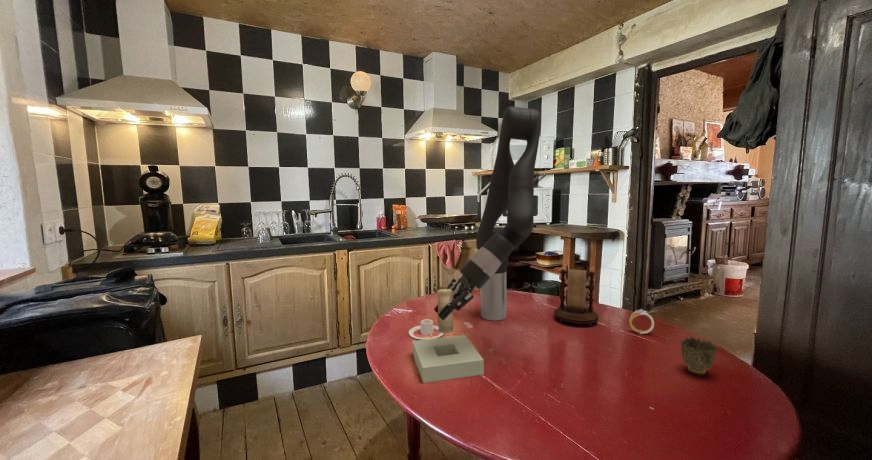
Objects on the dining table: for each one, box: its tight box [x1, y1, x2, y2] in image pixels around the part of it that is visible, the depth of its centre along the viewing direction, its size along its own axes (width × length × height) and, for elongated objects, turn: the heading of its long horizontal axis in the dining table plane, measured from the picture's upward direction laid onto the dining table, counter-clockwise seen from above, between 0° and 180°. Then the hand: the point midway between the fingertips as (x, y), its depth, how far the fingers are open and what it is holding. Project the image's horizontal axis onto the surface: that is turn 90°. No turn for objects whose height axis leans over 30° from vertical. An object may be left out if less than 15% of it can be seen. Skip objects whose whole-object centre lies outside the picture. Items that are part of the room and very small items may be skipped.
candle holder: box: [408, 318, 445, 340], centre depth 121 cm, size 12×12×4 cm
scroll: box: [553, 264, 599, 327], centre depth 129 cm, size 15×15×20 cm
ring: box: [628, 308, 655, 335], centre depth 117 cm, size 7×3×8 cm, turn 61°
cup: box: [680, 336, 718, 376], centre depth 93 cm, size 8×7×8 cm
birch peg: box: [437, 288, 454, 334], centre depth 98 cm, size 4×4×11 cm
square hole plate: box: [411, 334, 485, 384], centre depth 100 cm, size 16×16×4 cm
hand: (438, 314), depth 98 cm, fingers closed on birch peg, 4 cm apart
